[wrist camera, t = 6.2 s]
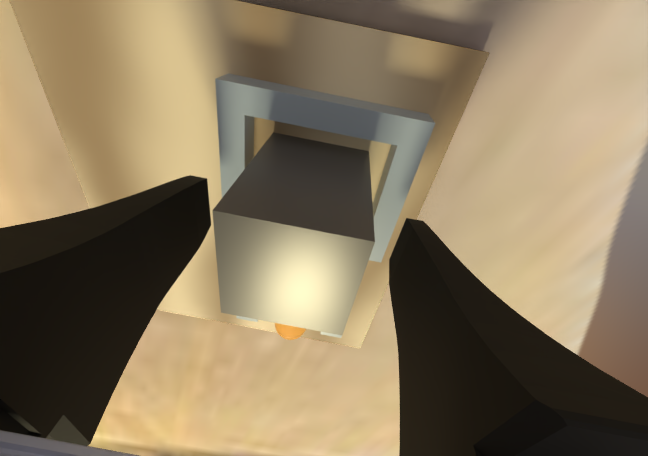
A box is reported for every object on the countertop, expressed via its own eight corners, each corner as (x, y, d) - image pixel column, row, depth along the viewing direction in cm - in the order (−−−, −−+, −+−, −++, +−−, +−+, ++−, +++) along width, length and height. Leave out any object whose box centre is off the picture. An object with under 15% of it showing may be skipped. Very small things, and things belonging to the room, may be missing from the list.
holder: (232, 217, 15) (223, 232, 14) (228, 73, 11) (215, 78, 10) (379, 246, 15) (381, 262, 14) (428, 113, 11) (435, 123, 10)
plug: (262, 312, 19) (229, 413, 14) (273, 132, 12) (212, 210, 7) (322, 323, 19) (309, 428, 14) (368, 151, 12) (375, 242, 7)
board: (130, 299, 20) (126, 304, 20) (2, -48, 10) (-11, -51, 9) (359, 343, 20) (359, 348, 20) (485, 51, 10) (489, 52, 9)
